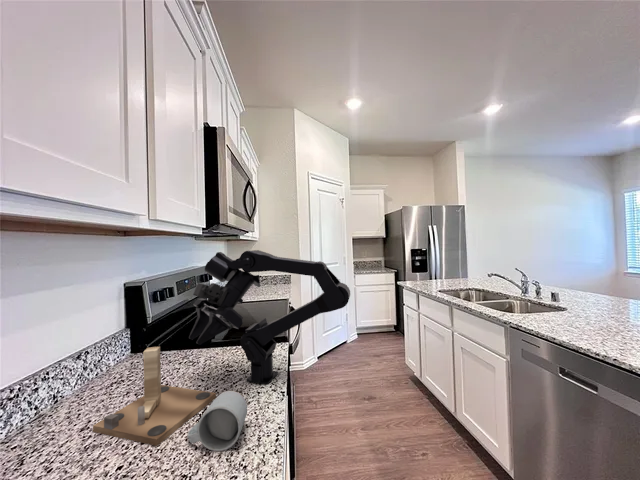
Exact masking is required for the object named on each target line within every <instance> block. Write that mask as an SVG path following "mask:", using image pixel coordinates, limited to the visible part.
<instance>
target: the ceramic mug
mask: <svg viewBox="0 0 640 480" xmlns="http://www.w3.org/2000/svg"><path fill="white" fill-rule="evenodd" d="M247 414H248V404H247V400H246V398H245V397H244V395H242V393H241V392H238V391H235V390H227V391H224V392H222V393H220V394H218V395H217V397H216V398H215V399H214V400H213V401H211V403H210V405H209V406H208V407H207V409H206V410H205V411H204V413H203V414H202V415H201V416H200V419H199V421H198V422H196V423H195V424H194V425H193V426H192V427H191V429H189V431H188V432H187V434H186V435H187V439H188V441H189V443H190V444H196V443H199V442H200V443H201V444H202V446H203V447H204V448H206V449H208V450H209V451H215V452H224V451H226V450H229V449H230V448H231V447H233V446H234V445H235V443H237V441H238V439H239V438H240V435H241V432H242V428H243V426H244V423H245V421H246V418H247Z"/></svg>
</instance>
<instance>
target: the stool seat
mask: <svg viewBox="0 0 640 480" xmlns="http://www.w3.org/2000/svg"><path fill="white" fill-rule="evenodd" d="M216 395H217V394H216V392H211V391H205V390H198V389H192V388H186V387H180V386H178V387H177V386H171V385H163V384H161V400H160V402H159V404H158V405H156V406H155V408H154V410H153V411H152V413H151V415H150V416H149V418H145V406H143V405H144V395H143V396H141V397H139V398H137V399H135V400H134V401H132V402H130V403H129V404H127V405H126V406H124V407H122V408H121V409H119V410H117V411H115V412H114V413H109V414H108V415H106V416H104V417H103V419H102V420H100V421H99V422H97V423H95V424H94V425H92V432H93V433H98V434H100V435H101V434H102V435H106V436H111V437H113V438H114V437H115V438H120V439H123V438H125V439H124V440H128V439H129V440H128V441H132V440H133V442H137V443H141V444H146V445H150V446H155V447H157V446H159V445H160V444H161V443H162V442H164V441H165V440H167V438H168V437H170V436H171V435H172V434H173V433H175V432H176V431H177V430H179V428H181V427H182V426H183V425H184V424H186V423H187V422H188V421H189V420H191V419H192V418H193V417H194V416H195V415H197V414H199V412H201V411H202V410H203V409H204V408H206V407H207V406H208V405H209V404H211V403H212V402H213V401H214V400H215V399H216V398H217V397H216Z"/></svg>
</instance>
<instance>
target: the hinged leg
mask: <svg viewBox="0 0 640 480" xmlns="http://www.w3.org/2000/svg"><path fill="white" fill-rule="evenodd" d="M142 354H143V388H144V389H143V396H144V405H143V406H145V418H149V416H150V415H151V413H152V411H153V410H154V408H155V406H156V405H158V404H159V402H160V400H161V385H162V374H161V373H162V371H161V363H162V362H161V346H152V347H146V349H144V351H143V353H142Z"/></svg>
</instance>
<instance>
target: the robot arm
mask: <svg viewBox="0 0 640 480" xmlns="http://www.w3.org/2000/svg"><path fill="white" fill-rule="evenodd" d="M269 271H270V272H280V273H287V274H293V275H300V276H301V275H302V276H309V277H313V278H314V279H315V280H316V282H317V283H318V286H319V287H320V288H321V291H322V293H321V294H320V295H319V296H317V297H316V298H314V299H313V300H311V301H309V302H306V303H305V304H303V305H302V306H299V307H297V308H295V309H294V310H292V311H291V312H288V313H286V314H284V315H283V316H281V317H279V318H277V319H274V320H272V321H268V320H267V318H266V317H265V318H263V319H262V320H261V321H259V322H257V323H256V322H254V323H253V324H252V325H250V326H249V327H248V328H246V329H245V330H244V332H245V333H243V334H242V336H240V342H239V344H240V346H241V349H242V350H243V351H244V353H245V356H246V359H247V361H248V362H250V375H249V377H248V376H247V378H246V382H248V383H254V384H255V383H256V384H263V385H268V384H270V383H271V381H273V379H275V377H277V375H279V372H278V371H276V370H275V371H274V363H273V360H274V358H273V352H274V351H275V349H276V346H277V343H278V342H277V341H275V338H276V337H277V336H279V335H281V334H283V333H286V332H287V331H288V330H291V329H292V328H295V327H297V326H298V325H301V324H302V323H305V322H306V321H308V320H310V319H312V318H314V317H316V316H318V315H320V314H324V313H329V312H334V311H337V310H340V309H343V308H345V307H346V306H347V305H348V303H349V301H350V297H351V290H350V287H348V286H349V285H347V284H345V283H343V282H341V281H340V280H339V278H338V277H337V276H336V275H335V274H334V273H333V272H332V271H331V270H330V269H329V268H328V266H327V264H326V262H324V261H321V260H320V261H315V260H304V259H295V258H289V257H280V256H277V255H273V254H271V253H270V252H269V253H268V252H265V251H262V250H259V249H255V250H246V251H243V252H242V253H241V255H239V258H236V259H232V258H230V257H228V256H227V255H226V254H225V253H223V252H221V251H220V252H219V251H218V252H216V253H215V255H214V256H212V257H211V258H210V259H209V260H208V261H207V263H206V264H205V266H204V272H205V273H207V274H208V275H210V276H212V277H213V278H214V279H216V280H217V281H219V282H221V283H224V282H226V284H225V285H223V286H222V285H220V284H217V283H214V282H211V283H210V284H209V285H208V284H205V283H199V282H197V284H196V287H195V289H194V291H193V294H192V295H193V296H195V297H199V298H196V300H195V301H194V302H193V304H192V305H193V306H194V307H195V311H196V315H197V317H196V320H195V322H194V325H193V327H192V329H191V331H190V333H189V336H188V339H189V340H191V341H193V340H194V339H196V338H197V337H198V338H197V340H196V342H195V343H196V344H198V345H199V346H200V345H203V344H204V343H205V342H207V341H209V340H212V339H214V338H215V337H216V336H218V335H219V334H220V335H221V334H222V333H224V332H225V331H227V330H231V329H232V328H234V329H237V330H239V329H240V328H241V327H242V325H243V324H244V317H243V316H242V315H241V314H240V313H238V312H237V311H236V310H235V308H236V307H237V305H238V304H239V305H240V304H242V303H243V302H244V300H243V297H244V296H246V293H247V292H248V291H249V289H250V288H251V287H252V286H253V285H254V286H255V287H257V288H260V287H261V281H260V280H261V277H260V274H254V273H260V272H269ZM252 273H253V274H252ZM230 325H231V326H230Z"/></svg>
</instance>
